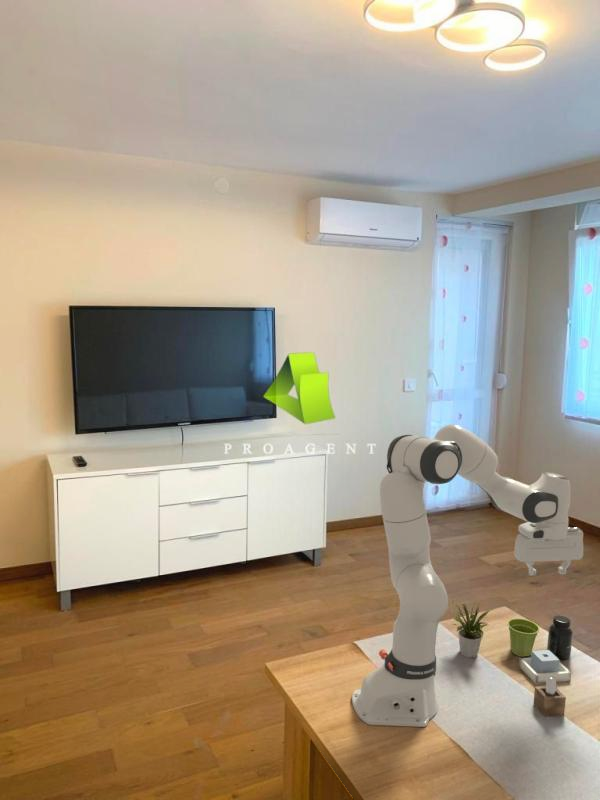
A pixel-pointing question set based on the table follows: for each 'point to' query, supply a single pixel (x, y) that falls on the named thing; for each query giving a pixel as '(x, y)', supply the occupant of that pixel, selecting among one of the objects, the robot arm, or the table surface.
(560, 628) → the supplement bottle
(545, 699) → the walnut block
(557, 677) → the off-white tray
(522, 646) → the plant pot
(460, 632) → the house plant
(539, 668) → the slate-blue block
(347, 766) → the table surface
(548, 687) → the pin gauge
